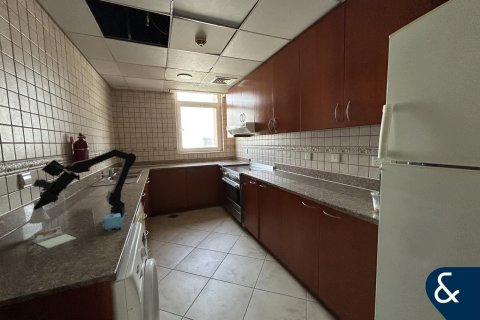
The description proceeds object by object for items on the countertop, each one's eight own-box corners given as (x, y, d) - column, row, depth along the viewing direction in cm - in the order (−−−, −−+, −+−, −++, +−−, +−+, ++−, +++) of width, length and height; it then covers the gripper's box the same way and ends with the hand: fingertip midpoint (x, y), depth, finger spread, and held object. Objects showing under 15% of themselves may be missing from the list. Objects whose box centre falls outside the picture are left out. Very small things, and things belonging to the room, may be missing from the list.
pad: (65, 234, 97) (65, 234, 97) (76, 238, 93) (76, 237, 93) (37, 244, 89) (37, 243, 88) (48, 248, 84) (48, 247, 84)
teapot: (127, 223, 110) (126, 209, 110) (129, 226, 106) (128, 212, 105) (101, 229, 104) (100, 214, 103) (101, 233, 99) (100, 218, 98)
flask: (37, 224, 94) (34, 203, 93) (24, 224, 95) (22, 203, 94) (54, 218, 101) (51, 199, 100) (42, 218, 102) (40, 198, 101)
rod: (59, 229, 99) (59, 226, 99) (60, 229, 98) (60, 226, 98) (34, 236, 91) (33, 233, 91) (35, 237, 90) (35, 234, 90)
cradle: (59, 232, 100) (59, 226, 100) (63, 234, 98) (63, 228, 98) (32, 241, 91) (31, 235, 91) (35, 243, 89) (35, 236, 89)
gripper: (46, 171, 105) (17, 196, 99) (45, 174, 92) (11, 203, 85) (67, 183, 111) (41, 207, 105) (69, 188, 98) (40, 216, 91)
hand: (34, 208), depth 96 cm, fingers closed on flask, 3 cm apart
